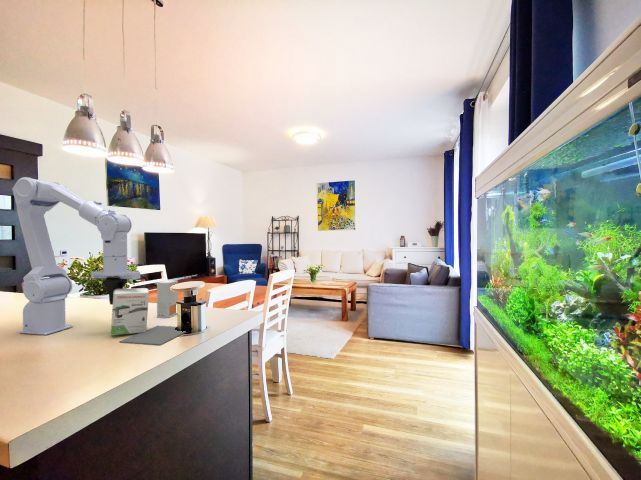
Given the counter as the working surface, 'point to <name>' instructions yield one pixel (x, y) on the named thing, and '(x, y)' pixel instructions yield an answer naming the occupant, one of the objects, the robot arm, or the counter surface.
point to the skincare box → (166, 299)
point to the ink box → (129, 311)
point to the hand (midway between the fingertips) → (116, 303)
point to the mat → (154, 336)
